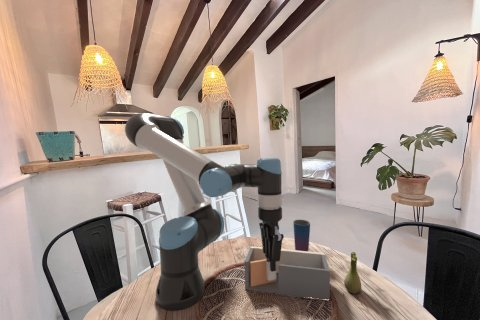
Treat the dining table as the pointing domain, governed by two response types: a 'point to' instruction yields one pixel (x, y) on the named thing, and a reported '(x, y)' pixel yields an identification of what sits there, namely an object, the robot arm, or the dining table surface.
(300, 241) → the cup
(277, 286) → the storage box
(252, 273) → the box door
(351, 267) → the fennel bulb
